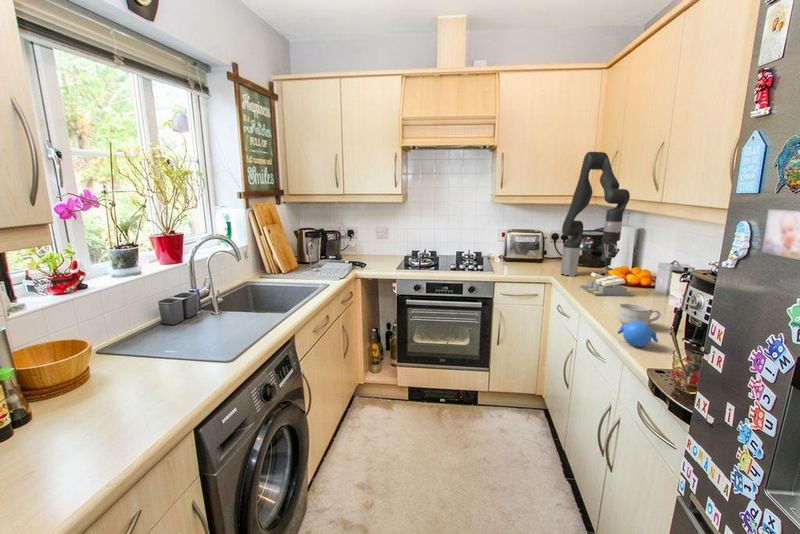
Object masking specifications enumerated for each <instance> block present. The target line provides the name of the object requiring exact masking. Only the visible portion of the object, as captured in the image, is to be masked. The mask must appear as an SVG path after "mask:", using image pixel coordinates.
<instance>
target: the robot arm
mask: <svg viewBox="0 0 800 534" xmlns="http://www.w3.org/2000/svg"><path fill="white" fill-rule="evenodd" d="M593 170H597V171H602V173H601V174H600V177H599V183H600V185H601V187H602V189H603V194H604V201H605V202H606V203H607V204H611V205H612V204H614V205H615V207H613V208H609V209H607V210H606V215H605V221H604V226H603V233H602V240H603V241H604V243H603V244H601V246H600V247H601V251H602V255H603V256H604V258H605V260H604V265H605V266H611V264H612V259H613V258H616V256H617V254H618V253H619V251H620V248H618V247H617V246H618V243H617V242H620V240H621V233H622V228H623V227H622V226H623V217H624V212H625V210H626V207H627V205H628V203H629V201H630V197H631V194H630V191H629V189H626V188H620V183H619V181H618V179H617V177H616V175H615V174H614V172H613V168H612V165H611V161H610V158H609V156H608V153H606V152H604V151H588V152H586V154H585V155H584V158H583V161H582V165H581V170H580V174H579V177H578V182H577V184H576V188H575V190H574V193H573V196H572V199H571V203H570V206H569V208H568V209H569V210H568V211H567V214H566V216H565V219H564V221H563V224H562V227H561V234H563V236H567V237H571V238H570V239H569V240H566V241H564V242H563V245H562V254H561V255H562V256H561V257H562V258H561V265H560V273H561V274H564V275H563V276H565V275H569V276H568V277H576V276H575V275H577V274H578V267H579V266H578V265H579V257H580V248H581V244H582V240H583V233H584V223H583V221H582V220H575V219H576V217H578V216H579V214H580V213H581V212H582V211H583V210H585V209H586V208H587V207H588V205H589V204H590V202H591V199H592V196H593V188H592V185H591V182H590V179H589V177H590V172H591V171H593ZM561 274H560V275H561ZM577 276H578V275H577Z"/></svg>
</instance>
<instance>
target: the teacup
mask: <svg viewBox="0 0 800 534" xmlns="http://www.w3.org/2000/svg"><path fill="white" fill-rule="evenodd" d="M653 313H656V314H657V315H656V316H654V318H650V317H651V316H652V314H653ZM661 316H662V315H661V312H660V311H659V310H658V309H656V308H655V309H652V308H651V307H649V306H646V305H641V304H635V303H619V305H618V318H617V319H618V321H619V323H621V324H622V326H623V325H627V324H628V323H630V322H633V321H640V322H643V323H645V324H647V325H649V324H651V323H652V322H654V321H655V322H656V321H658V320H659V319H660V318H661Z"/></svg>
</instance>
